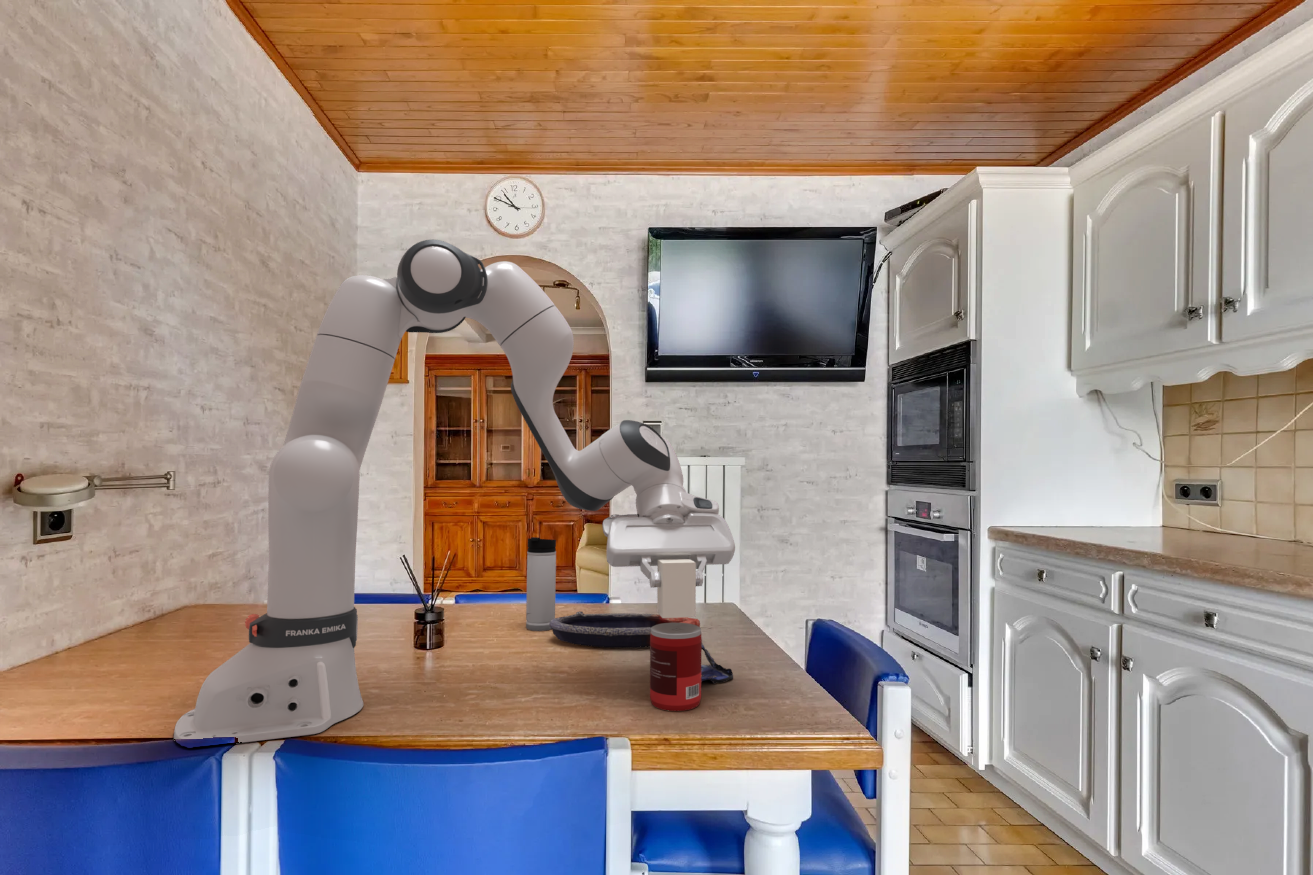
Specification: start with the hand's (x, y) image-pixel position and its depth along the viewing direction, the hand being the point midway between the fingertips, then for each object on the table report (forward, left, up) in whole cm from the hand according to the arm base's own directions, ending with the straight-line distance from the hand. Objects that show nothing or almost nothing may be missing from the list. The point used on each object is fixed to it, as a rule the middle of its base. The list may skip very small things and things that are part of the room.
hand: (677, 584), depth 101 cm
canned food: (0, +1, -18) cm, 18 cm away
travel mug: (+1, +56, -18) cm, 58 cm away
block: (0, +1, -5) cm, 5 cm away
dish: (+12, +36, -18) cm, 42 cm away
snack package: (+10, +10, -18) cm, 23 cm away
